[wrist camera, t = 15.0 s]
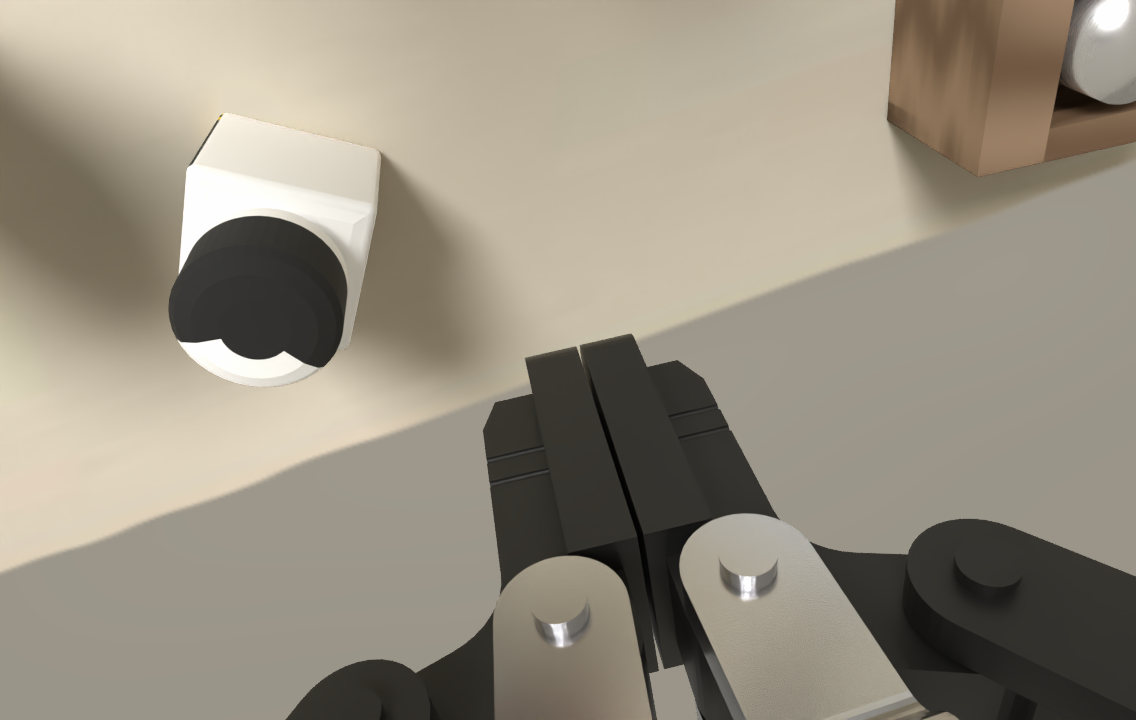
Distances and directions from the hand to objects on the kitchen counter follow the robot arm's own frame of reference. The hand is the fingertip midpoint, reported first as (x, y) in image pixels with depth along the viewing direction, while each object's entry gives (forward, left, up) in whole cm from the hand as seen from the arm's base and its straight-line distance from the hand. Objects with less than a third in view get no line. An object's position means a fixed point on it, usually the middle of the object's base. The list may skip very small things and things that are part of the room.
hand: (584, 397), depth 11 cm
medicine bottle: (+7, -10, -29) cm, 32 cm away
